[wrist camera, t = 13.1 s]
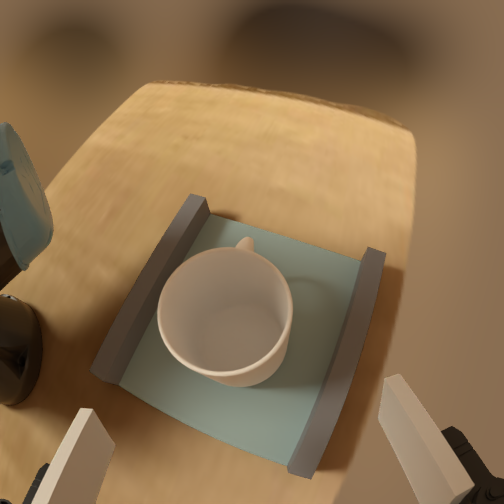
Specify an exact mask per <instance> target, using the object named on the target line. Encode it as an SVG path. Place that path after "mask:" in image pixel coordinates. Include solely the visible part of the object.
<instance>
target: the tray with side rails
mask: <svg viewBox="0 0 504 504" xmlns="http://www.w3.org/2000/svg"><path fill="white" fill-rule="evenodd" d="M245 237H251V238H252V239H253V240H254V252H255V253H257V254H259V255H261V256H262V257H264V258H266V259H267V260H269V261H270V262H271V263H272V264H273V265H274V266H275V267H276V268H277V269H278V270H279V271H280V272H281V274H282V275H283V277H284V278H285V280H286V282H287V284H288V286H289V289H290V292H291V296H292V301H293V317H292V323H291V329H290V335H289V340H288V346H287V350H286V354H285V357H284V359H283V361H282V363H281V365H280V366H279V368H278V369H277V370H276V372H275V373H274V374H272V375H271V376H270V377H269V378H268V379H266V380H264V381H263V382H261V383H258V384H256V385H252V386H248V387H232V386H227V385H224V384H221V383H219V382H217V381H214V380H212V379H210V378H208V377H206V376H204V375H202V374H200V373H198V372H196V371H193V370H191V369H189V368H188V367H186V366H185V365H183V364H182V363H181V362H179V361H178V360H177V359H176V358H175V357H174V356H173V355H172V354H171V352H170V351H169V350H168V348H167V347H166V345H165V343H164V341H163V339H162V337H161V334H160V331H159V327H158V320H157V310H158V302H159V298H160V295H161V292H162V290H163V287H164V285H165V283H166V282H167V280H168V279H169V277H170V276H171V274H172V273H173V272H174V271H175V270H176V269H177V268H178V267H179V266H180V265H181V264H182V263H183V262H185V261H186V260H188V259H189V258H191V257H193V256H194V255H196V254H198V253H201V252H203V251H206V250H210V249H214V248H221V247H234V248H235V247H236V245H237V244H238V243H239V241H240V240H242V239H243V238H245ZM385 256H386V253H384V252H381V251H379V250H376V249H373V248H370V247H368V248H367V250H366V252H365V254H364V256H363V258H362V260H361V261H359V260H356V259H353V258H350V257H347V256H344V255H341V254H338V253H335V252H332V251H329V250H326V249H322V248H319V247H316V246H313V245H310V244H307V243H304V242H301V241H298V240H294V239H291V238H288V237H285V236H282V235H279V234H275V233H272V232H269V231H266V230H262V229H259V228H256V227H253V226H249V225H246V224H243V223H240V222H236V221H233V220H230V219H226V218H223V217H220V216H216V215H213V214H210V210H209V207H208V204H207V201H206V198H205V197H201V196H198V195H194V194H190V195H189V196H188V198H187V199H186V201H185V202H184V204H183V206H182V207H181V209H180V210H179V212H178V213H177V215H176V216H175V218H174V219H173V221H172V223H171V224H170V226H169V227H168V229H167V230H166V232H165V234H164V235H163V237H162V238H161V240H160V242H159V243H158V245H157V247H156V248H155V250H154V252H153V253H152V255H151V257H150V258H149V260H148V262H147V263H146V265H145V267H144V268H143V270H142V272H141V273H140V275H139V277H138V279H137V280H136V282H135V284H134V286H133V287H132V289H131V291H130V293H129V295H128V296H127V298H126V300H125V302H124V304H123V305H122V307H121V309H120V311H119V313H118V315H117V317H116V318H115V320H114V322H113V324H112V326H111V328H110V330H109V332H108V334H107V336H106V338H105V340H104V341H103V343H102V345H101V347H100V349H99V351H98V353H97V356H96V358H95V360H94V362H93V364H92V366H91V368H90V370H89V371H90V372H91V373H92V374H94V375H95V376H96V377H98V378H99V379H101V380H102V381H103V382H107V383H111V384H115V385H119V386H120V387H122V388H124V389H125V390H127V391H128V392H130V393H131V394H133V395H135V396H136V397H138V398H140V399H141V400H143V401H145V402H146V403H148V404H150V405H151V406H153V407H155V408H157V409H158V410H160V411H162V412H164V413H166V414H167V415H169V416H171V417H173V418H175V419H177V420H179V421H181V422H182V423H184V424H186V425H188V426H190V427H192V428H194V429H196V430H198V431H201V432H203V433H205V434H207V435H209V436H211V437H213V438H216V439H218V440H220V441H222V442H225V443H227V444H229V445H232V446H234V447H237V448H239V449H241V450H244V451H246V452H249V453H252V454H254V455H257V456H260V457H262V458H265V459H268V460H271V461H274V462H276V463H279V464H282V465H286V466H287V469H288V473H291V474H294V475H297V476H301V477H304V478H308V479H312V477H313V475H314V473H315V470H316V468H317V466H318V464H319V462H320V460H321V458H322V455H323V453H324V451H325V449H326V446H327V444H328V442H329V440H330V437H331V435H332V432H333V430H334V428H335V425H336V423H337V420H338V418H339V415H340V412H341V410H342V407H343V405H344V402H345V399H346V397H347V394H348V391H349V388H350V385H351V382H352V380H353V377H354V374H355V371H356V368H357V365H358V361H359V358H360V355H361V352H362V349H363V345H364V342H365V338H366V335H367V332H368V328H369V324H370V321H371V317H372V313H373V309H374V305H375V301H376V297H377V293H378V289H379V285H380V280H381V276H382V271H383V266H384V261H385Z"/></svg>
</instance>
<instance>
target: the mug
mask: <svg viewBox="0 0 504 504" xmlns="http://www.w3.org/2000/svg"><path fill="white" fill-rule="evenodd" d="M292 317H293V301H292V296H291V292H290V289H289V286H288V284H287V282H286V280H285V278H284V277H283V275H282V274H281V272H280V271H279V270H278V269H277V268H276V267H275V266H274V265H273V264H272V263H271V262H270V261H269V260H267V259H266V258H264V257H262V256H261V255H259V254H257V253H255V252H254V240H253V239H252V238H251V237H245V238H243V239H242V240H240V241H239V243H238V244H237V245H236V247H235V248H234V247H221V248H214V249H210V250H206V251H203V252H201V253H198V254H196V255H194V256H193V257H191V258H189V259H188V260H186V261H185V262H183V263H182V264H181V265H180V266H179V267H178V268H177V269H176V270H175V271H174V272H173V273H172V274H171V276H170V277H169V279H168V280H167V282H166V283H165V285H164V287H163V290H162V292H161V295H160V298H159V302H158V310H157V320H158V327H159V331H160V334H161V337H162V339H163V341H164V343H165V345H166V347H167V348H168V350H169V351H170V352H171V354H172V355H173V356H174V357H175V358H176V359H177V360H178V361H179V362H181V363H182V364H183V365H185V366H186V367H188V368H189V369H191V370H193V371H196V372H198V373H200V374H202V375H204V376H206V377H208V378H210V379H212V380H214V381H217V382H219V383H221V384H224V385H227V386H232V387H248V386H252V385H256V384H258V383H261V382H263V381H264V380H266V379H268V378H269V377H270V376H271V375H272V374H274V373H275V372H276V370H277V369H278V368H279V366H280V365H281V363H282V361H283V359H284V357H285V354H286V350H287V346H288V340H289V335H290V329H291V323H292Z"/></svg>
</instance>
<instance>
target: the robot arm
mask: <svg viewBox="0 0 504 504" xmlns="http://www.w3.org/2000/svg"><path fill="white" fill-rule="evenodd" d="M52 236H53V219H52V215H51V211H50V207H49V204H48V201H47V198H46V196H45V193H44V190H43V188H42V185H41V183H40V180H39V178H38V176H37V173H36V171H35V168H34V166H33V164H32V161H31V159H30V157H29V155H28V153H27V151H26V149H25V147H24V145H23V143H22V141H21V139H20V137H19V135H18V134H17V133H16V132H15V131H14V129H13V128H12V126H11V125H10V124H9V123H6V122H4V123H1V124H0V291H1V290H2V289H3V288H4V287H5V286H6V285H7V284H8V283H9V282H10V281H11V280H12V279H13V278H15V277H16V276H17V275H18V274H19V273H20V272H21V271H22V270H23V271H25V270H27V269H28V267H29V264H30V263H31V262H32V261H33V260H34V259H35V258H36V257H37V256H38V255H39V254H40V253H41V252H42V251H43V250H44V249H46V247H47V246H48V245H49V243H50V242H51V239H52ZM41 358H42V337H41V331H40V326H39V323H38V320H37V317H36V315H35V314H34V312H33V310H32V309H31V308H30V307H29V306H28V305H27V304H26V303H24V302H22V301H21V300H19V299H18V298H16V297H14V296H11V295H6V294H2V295H0V404H5V405H15V404H18V403H20V402H21V401H23V400H24V399H25V398H26V397H27V396H28V395H29V393H30V392H31V390H32V389H33V387H34V385H35V382H36V380H37V377H38V374H39V370H40V365H41ZM378 420H379V422H380V424H381V426H382V428H383V430H384V432H385V434H386V436H387V438H388V440H389V442H390V444H391V446H392V448H393V450H394V452H395V454H396V456H397V458H398V460H399V462H400V464H401V467H402V468H403V471H404V472H405V475H406V477H407V479H408V481H409V483H410V485H411V487H412V490H413V492H414V494H415V495H416V498H417V500H418V502H419V504H504V479H502V478H496V477H494V476H493V475H492V474H491V473H490V472H489V470H488V469H487V468H486V466H485V464H484V463H483V462H482V460H481V459H480V457H479V456H478V454H477V453H476V451H475V450H473V447H472V446H471V445H470V443H468V440H467V439H466V437H465V436H464V434H463V433H462V432H461V431H459V430H458V429H456V428H454V427H453V426H451V427H449V428H447V429H445V430H443V431H440V430H439V429H438V427H437V426H436V424H435V423H434V421H433V420H432V418H431V417H430V416H429V414H428V413H427V411H426V410H425V408H424V407H423V405H422V404H421V402H420V401H419V400H418V398H417V397H416V395H415V394H414V392H413V391H412V390H411V388H410V387H409V385H408V384H407V383H406V381H405V380H404V378H403V377H402V376H401V374H400V373H398V374H395V375H392V376H389V377H385V378H384V384H383V391H382V397H381V403H380V409H379V415H378ZM115 446H116V445H115V443H114V442H113V440H112V439H111V437H110V436H109V434H108V433H107V431H106V429H105V428H104V426H103V425H102V423H101V421H100V420H99V418H98V416H97V415H96V413H95V411H94V410H93V409H88V408H80V410H79V412H78V413H77V415H76V417H75V419H74V421H73V422H72V424H71V426H70V428H69V430H68V431H67V433H66V435H65V437H64V439H63V441H62V443H61V444H60V446H59V448H58V450H57V452H56V454H55V456H54V458H53V460H52V462H51V464H48V463H46V464H45V465H44V466H42V467H41V468H40V469H39V471H38V473H37V475H36V477H35V480H34V481H33V483H32V486H31V487H30V489H29V491H28V493H27V495H26V497H25V499H24V501H23V503H22V504H95V503H96V500H97V497H98V494H99V491H100V488H101V485H102V482H103V479H104V477H105V474H106V471H107V468H108V465H109V463H110V460H111V457H112V454H113V452H114V449H115ZM0 504H12V503H11V502H9V501H8V500H6V499H0Z"/></svg>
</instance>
